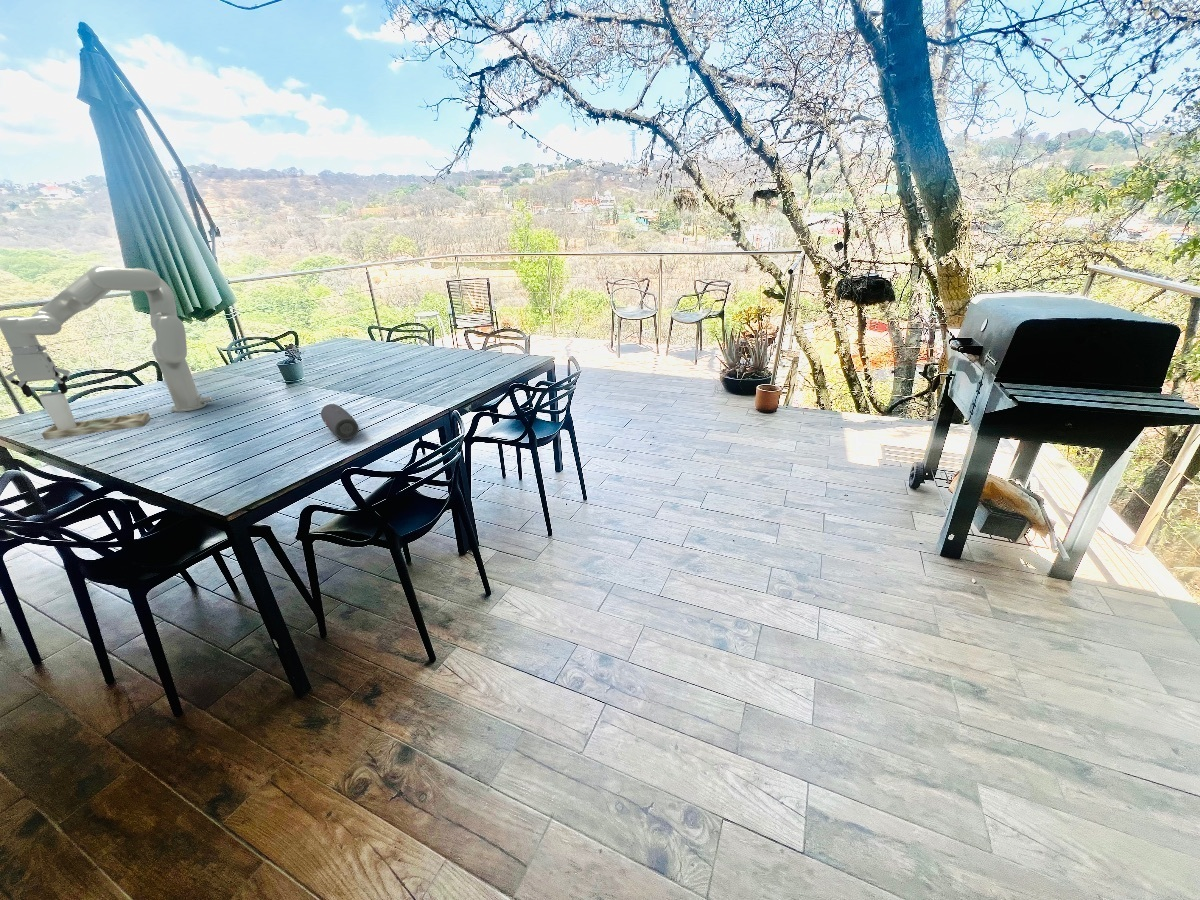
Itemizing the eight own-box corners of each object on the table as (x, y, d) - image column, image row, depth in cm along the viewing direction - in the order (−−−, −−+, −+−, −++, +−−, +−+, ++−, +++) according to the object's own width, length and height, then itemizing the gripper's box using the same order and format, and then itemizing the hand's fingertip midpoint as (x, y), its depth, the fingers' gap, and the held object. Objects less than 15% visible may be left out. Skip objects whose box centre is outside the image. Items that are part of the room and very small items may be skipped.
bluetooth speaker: (322, 428, 195) (316, 405, 191) (346, 423, 200) (341, 400, 196) (336, 445, 179) (330, 420, 175) (362, 439, 185) (357, 414, 180)
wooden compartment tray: (150, 418, 207) (148, 412, 206) (143, 425, 198) (141, 420, 197) (56, 430, 194) (53, 424, 193) (44, 439, 185) (41, 433, 184)
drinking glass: (64, 433, 188) (46, 397, 182) (51, 432, 189) (33, 396, 183) (84, 427, 194) (68, 392, 188) (72, 426, 195) (55, 391, 189)
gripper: (63, 346, 185) (81, 389, 192) (-2, 350, 177) (20, 395, 184) (54, 350, 179) (74, 394, 185) (-13, 354, 171) (10, 400, 178)
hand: (47, 394), depth 185 cm, fingers open, 9 cm apart
